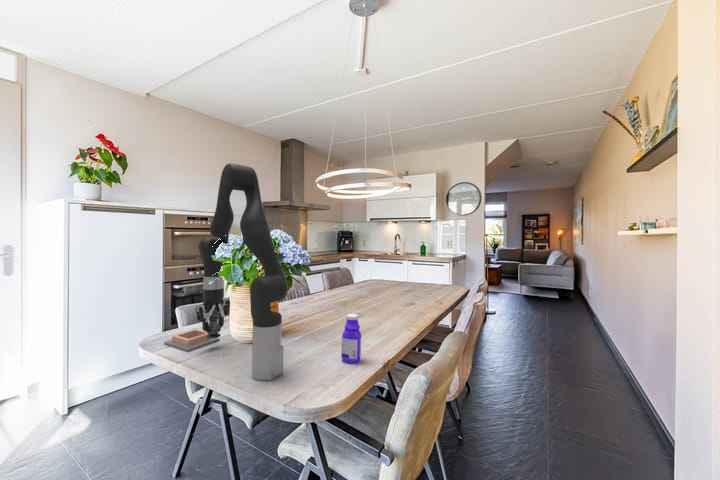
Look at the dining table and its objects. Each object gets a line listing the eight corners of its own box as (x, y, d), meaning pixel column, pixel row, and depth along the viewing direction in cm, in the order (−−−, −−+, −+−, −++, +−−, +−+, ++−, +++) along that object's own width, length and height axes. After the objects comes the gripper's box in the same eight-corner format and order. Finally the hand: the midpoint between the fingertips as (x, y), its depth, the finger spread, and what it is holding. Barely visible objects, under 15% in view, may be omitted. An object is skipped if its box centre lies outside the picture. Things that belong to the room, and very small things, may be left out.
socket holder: (219, 340, 125) (219, 332, 125) (187, 352, 113) (188, 343, 113) (195, 334, 132) (196, 326, 132) (163, 344, 120) (163, 336, 120)
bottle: (362, 359, 110) (363, 314, 110) (358, 365, 105) (359, 318, 105) (344, 356, 113) (345, 312, 112) (339, 362, 107) (340, 316, 107)
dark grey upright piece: (214, 339, 113) (214, 308, 113) (201, 338, 114) (201, 308, 114) (224, 334, 119) (224, 305, 119) (212, 333, 120) (212, 304, 120)
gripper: (203, 291, 108) (202, 335, 108) (235, 285, 121) (234, 325, 121) (190, 289, 111) (190, 332, 112) (222, 283, 124) (222, 322, 125)
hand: (213, 328), depth 116 cm, fingers closed on dark grey upright piece, 6 cm apart
